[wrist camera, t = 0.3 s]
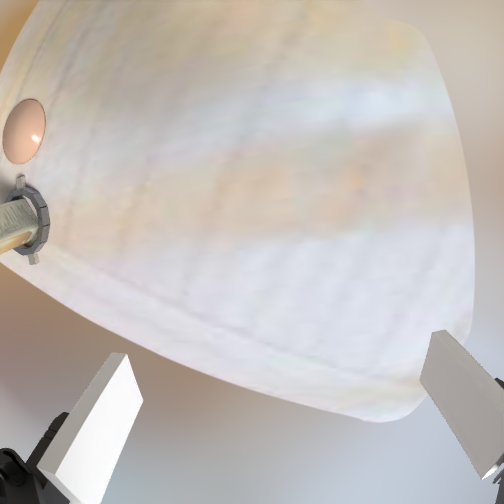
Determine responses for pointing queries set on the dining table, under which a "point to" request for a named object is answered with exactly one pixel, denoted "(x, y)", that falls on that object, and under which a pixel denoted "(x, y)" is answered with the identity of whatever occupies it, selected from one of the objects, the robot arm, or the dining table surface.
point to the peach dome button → (24, 131)
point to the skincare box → (16, 224)
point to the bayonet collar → (42, 219)
